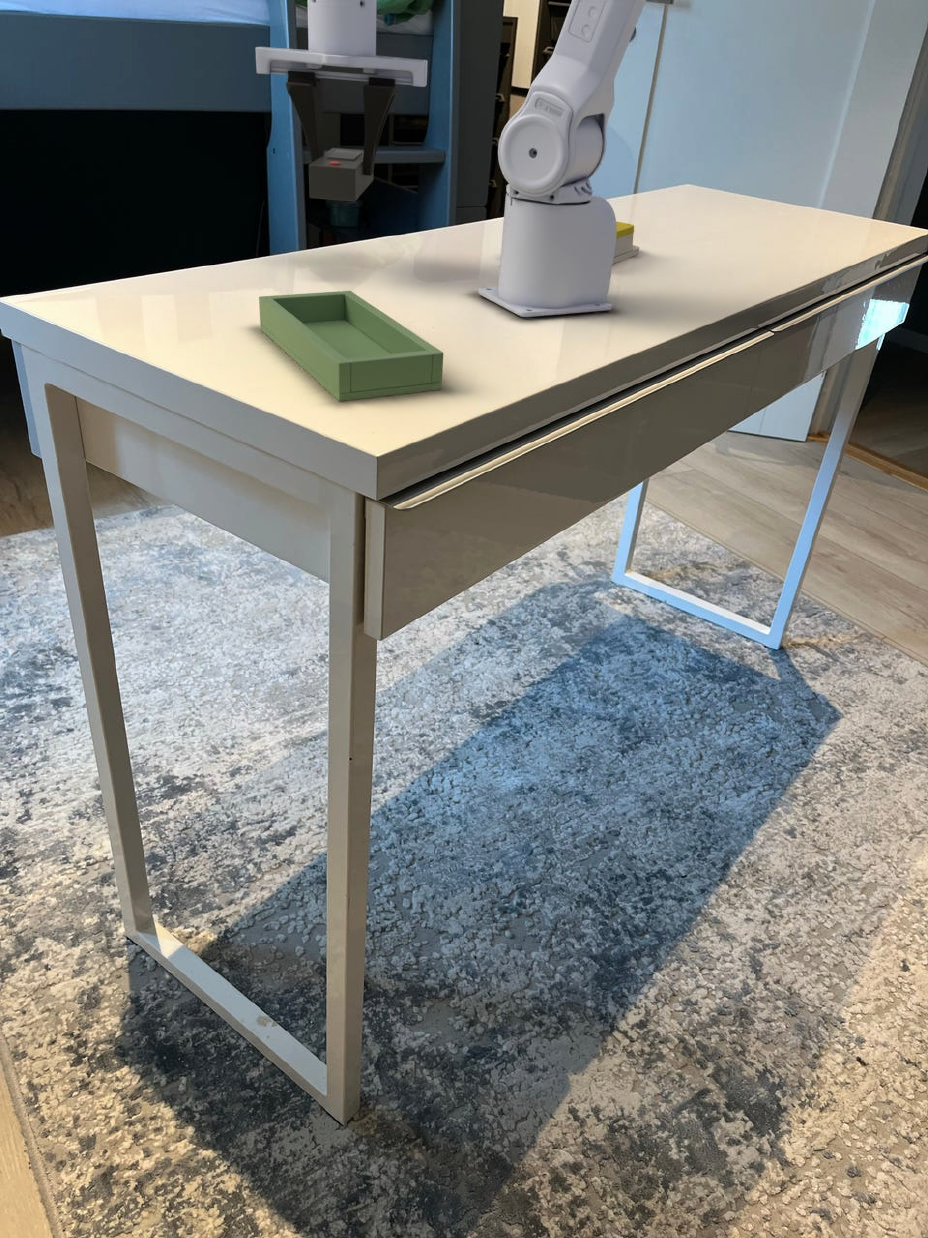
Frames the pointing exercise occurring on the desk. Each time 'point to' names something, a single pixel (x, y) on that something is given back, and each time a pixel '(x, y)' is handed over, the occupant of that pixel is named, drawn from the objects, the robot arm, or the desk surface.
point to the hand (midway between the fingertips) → (342, 171)
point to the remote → (338, 175)
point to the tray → (350, 345)
